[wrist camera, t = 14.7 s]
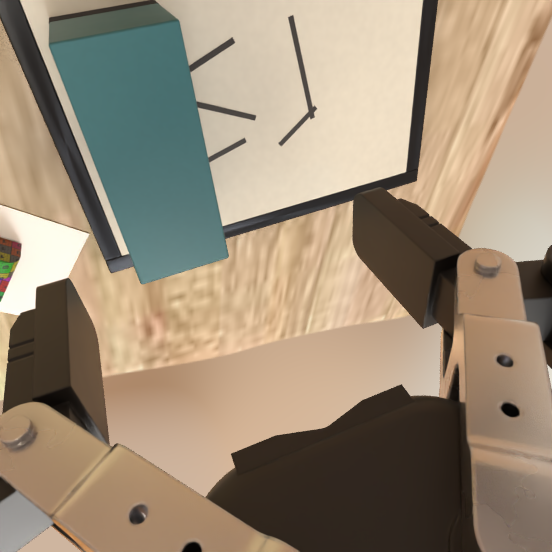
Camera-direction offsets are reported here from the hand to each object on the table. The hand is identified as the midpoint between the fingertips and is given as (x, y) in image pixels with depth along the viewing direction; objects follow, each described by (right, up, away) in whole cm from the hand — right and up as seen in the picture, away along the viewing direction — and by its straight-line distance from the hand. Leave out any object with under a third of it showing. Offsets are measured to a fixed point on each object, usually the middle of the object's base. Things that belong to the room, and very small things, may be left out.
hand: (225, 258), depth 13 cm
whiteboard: (0, +10, +13) cm, 17 cm away
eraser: (-6, +7, +11) cm, 14 cm away
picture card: (-15, 0, +14) cm, 20 cm away
